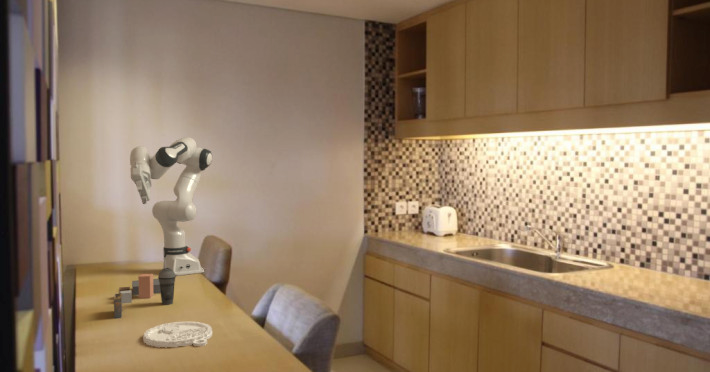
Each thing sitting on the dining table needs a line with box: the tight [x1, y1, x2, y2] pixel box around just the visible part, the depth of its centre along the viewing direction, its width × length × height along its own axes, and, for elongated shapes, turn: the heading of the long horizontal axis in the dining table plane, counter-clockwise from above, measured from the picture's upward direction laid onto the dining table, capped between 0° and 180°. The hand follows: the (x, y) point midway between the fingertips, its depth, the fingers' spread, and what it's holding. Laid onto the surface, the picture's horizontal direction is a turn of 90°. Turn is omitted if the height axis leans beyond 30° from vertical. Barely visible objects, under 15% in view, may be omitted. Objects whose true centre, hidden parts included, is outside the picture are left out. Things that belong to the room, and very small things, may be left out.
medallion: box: [142, 320, 213, 349], centre depth 201 cm, size 24×27×2 cm
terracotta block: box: [137, 273, 154, 299], centre depth 257 cm, size 5×5×10 cm
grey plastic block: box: [120, 289, 133, 304], centre depth 248 cm, size 4×4×4 cm
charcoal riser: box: [131, 278, 161, 296], centre depth 268 cm, size 13×13×4 cm
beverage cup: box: [157, 257, 177, 306], centre depth 245 cm, size 7×7×20 cm
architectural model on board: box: [113, 292, 123, 320], centre depth 229 cm, size 11×3×10 cm, turn 21°
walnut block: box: [118, 286, 131, 293], centre depth 255 cm, size 4×4×4 cm
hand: (142, 196), depth 260 cm, fingers open, 8 cm apart
